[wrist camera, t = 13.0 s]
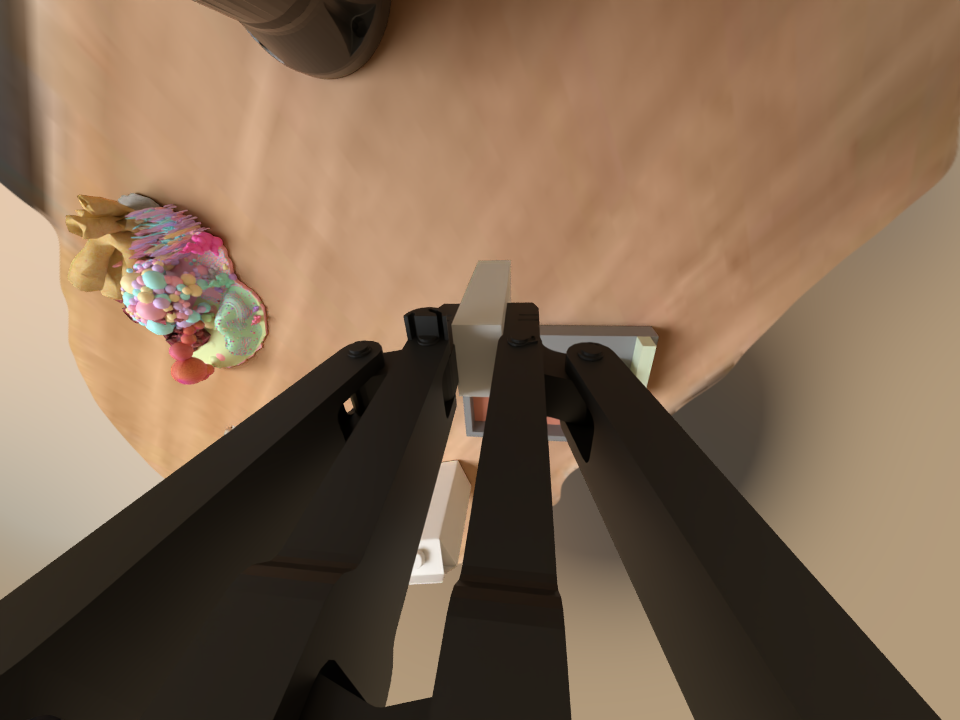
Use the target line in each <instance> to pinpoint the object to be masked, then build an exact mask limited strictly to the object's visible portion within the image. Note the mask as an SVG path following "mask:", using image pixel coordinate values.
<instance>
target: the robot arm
mask: <svg viewBox="0 0 960 720" xmlns="http://www.w3.org/2000/svg"><path fill="white" fill-rule="evenodd" d="M193 1H195V2H197V3H200V4H202V5H204V6H206V7H209V8H211V9H213V10H215V11H218V12H220V13H222V14H224V15H226V16H228V17H231V18H233V19H235V20H238V21H239V22H240V23H241V24H242V25H243V26H244V27H245V28H246V29H247V31H248V32H249V33H250V34H251V36H252V37H253V38H254V39H255V40H256V41H257V42H258V43H259V45H260V46H261V47H262V48H263V49H264V50H265V51H267V52H268V53H269V54H270V55H271V56H272V57H274V58H275V59H276V60H278V61H279V62H281V63H282V64H284V65H286V66H287V67H289V68H291V69H293V70H296V71H298V72H301V73H304V74H306V75H309V76H312V77H316V78H321V79H335V78H340V77H344V76H347V75H349V74H351V73H353V72H355V71H356V70H358V69H359V68H360V67H362V66H363V65H364V64H365V63H366V62H367V61H368V60H369V58H370V57H371V56H372V54H373V53H374V52H375V50H376V48H377V47H378V45H379V43H380V41H381V38H382V36H383V34H384V31H385V28H386V24H387V21H388V16H389V11H390V5H391V0H193ZM404 322H405V327H406V332H407V337H408V341H407V342H406V344H405V346H404V347H403V349H402V350H398V351H392V352H386V353H383V351H382V347H381V345H380V344H379V343H377V342H374V341H361V342H360V341H357V342H355V343H353V344H349V345H347V346H346V347H344V348H342V349H341V350H339V351H338V352H337V353H335V354H334V355H333V356H331V357H330V358H328V359H327V360H326V361H324V362H323V363H322V364H320V365H319V366H318V367H316V368H315V369H314V370H312V371H311V372H309V373H308V374H307V375H305V376H304V377H303V378H301V379H300V380H299V381H297V382H296V383H295V384H293V385H292V386H290V387H289V388H288V389H286V390H285V391H284V392H282V393H281V394H280V395H278V396H277V397H276V398H274V399H273V400H271V401H270V402H269V403H267V404H266V405H265V406H263V407H262V408H261V409H259V410H258V411H256V412H255V413H254V414H252V415H251V416H250V417H248V418H247V419H246V420H244V421H243V422H242V423H240V424H239V425H237V426H236V427H235V428H233V429H232V430H231V431H229V432H228V433H227V434H225V435H224V436H223V437H221V438H220V439H218V440H217V441H216V442H214V443H213V444H212V445H210V446H209V447H208V448H206V449H205V450H204V451H202V452H201V453H199V454H198V455H197V456H195V457H194V458H193V459H191V460H190V461H189V462H187V463H186V464H185V465H183V466H182V467H180V468H179V469H178V470H176V471H175V472H174V473H172V474H171V475H170V476H168V477H167V478H165V479H164V480H163V481H162V482H160V483H159V484H157V485H156V486H155V487H153V488H152V489H151V490H149V491H148V492H146V493H145V494H144V495H142V496H141V497H140V498H138V499H137V500H136V501H134V502H133V503H132V504H130V505H129V506H127V507H126V508H125V509H123V510H122V511H121V512H119V513H118V514H117V515H115V516H114V517H113V518H111V519H110V520H108V521H107V522H106V523H104V524H103V525H102V526H100V527H99V528H98V529H96V530H95V531H94V532H92V533H91V534H90V535H88V536H87V537H85V538H84V539H83V540H81V541H80V542H79V543H77V544H76V545H75V546H73V547H72V548H70V549H69V550H68V551H66V552H65V553H64V554H62V555H61V556H60V557H58V558H57V559H56V560H54V561H53V562H51V563H50V564H49V565H47V566H46V567H45V568H43V569H42V570H41V571H39V572H38V573H36V574H35V575H34V576H32V577H31V578H30V579H28V580H27V581H26V582H25V583H23V584H22V585H20V586H19V587H18V588H16V589H15V590H13V591H12V592H11V593H9V594H8V595H7V596H5V597H4V598H3V599H1V600H0V720H571V708H570V694H569V680H568V666H567V652H566V639H565V626H564V616H563V606H562V600H561V596H560V594H559V591H558V585H557V574H556V558H555V544H554V543H555V542H554V526H553V510H552V493H551V477H550V461H549V445H548V429H547V417H551V418H554V419H558V420H560V426H561V429H562V431H563V433H564V435H565V438H566V440H567V442H568V444H569V446H570V448H571V451H572V453H573V455H574V457H575V459H576V462H577V464H578V466H579V468H580V470H581V472H582V475H583V477H584V479H585V481H586V483H587V486H588V488H589V490H590V492H591V494H592V496H593V499H594V501H595V503H596V505H597V507H598V510H599V512H600V514H601V516H602V518H603V520H604V523H605V525H606V527H607V529H608V531H609V534H610V536H611V538H612V540H613V542H614V545H615V547H616V549H617V551H618V553H619V555H620V558H621V560H622V562H623V564H624V566H625V569H626V571H627V573H628V575H629V577H630V580H631V582H632V584H633V586H634V588H635V590H636V593H637V595H638V597H639V599H640V601H641V603H642V606H643V608H644V610H645V612H646V614H647V617H648V619H649V621H650V623H651V625H652V627H653V630H654V632H655V634H656V636H657V638H658V640H659V643H660V645H661V647H662V649H663V652H664V654H665V656H666V658H667V660H668V663H669V665H670V667H671V669H672V671H673V673H674V675H675V678H676V680H677V682H678V684H679V686H680V689H681V691H682V693H683V695H684V697H685V700H686V702H687V704H688V706H689V708H690V711H691V713H692V715H693V717H694V719H695V720H941V719H940V717H939V716H938V715H937V714H936V713H935V712H934V711H933V710H932V708H931V707H930V706H929V705H928V704H927V703H926V702H925V701H924V700H923V698H922V697H921V696H920V695H919V694H918V693H917V692H916V690H915V689H914V688H913V687H912V686H911V685H910V684H909V683H908V681H907V680H906V679H905V678H904V677H903V676H902V675H901V674H900V672H899V671H898V670H897V669H896V668H895V667H894V666H893V665H892V663H891V662H890V661H889V660H888V659H887V658H886V657H885V656H884V654H883V653H881V651H880V650H879V649H878V648H877V647H876V645H875V644H874V643H873V642H872V641H871V640H870V639H869V638H868V637H867V635H866V634H865V633H864V632H863V631H862V630H861V629H860V627H859V626H858V625H857V624H856V623H855V622H854V621H853V620H852V618H851V617H850V616H849V615H848V614H847V613H846V612H845V611H844V610H843V609H842V607H841V606H840V605H839V604H838V603H837V602H836V601H835V599H834V598H833V597H832V596H831V595H830V594H829V593H828V592H827V591H826V589H825V588H824V587H823V586H822V585H821V584H820V583H819V581H818V580H817V579H816V578H815V577H814V576H813V575H812V574H811V573H810V571H809V570H808V569H807V568H806V567H805V566H804V565H803V563H802V562H801V561H800V560H799V559H798V558H797V557H796V556H795V555H794V553H793V552H792V551H791V550H790V549H789V548H788V547H787V545H786V544H785V543H784V542H783V541H782V540H781V539H780V538H779V537H778V535H777V534H776V533H775V532H774V531H773V530H772V529H771V527H769V525H768V524H767V523H766V522H765V521H764V520H763V518H762V517H761V516H760V515H759V514H758V513H757V512H756V511H755V509H754V508H753V507H752V506H751V505H750V504H749V503H748V502H747V500H746V499H745V498H744V497H743V496H742V495H741V494H740V493H739V492H738V490H737V489H736V488H735V487H734V486H733V485H732V484H731V483H730V481H729V480H728V479H727V478H726V477H725V476H724V475H723V473H722V472H721V471H720V470H719V469H718V468H717V467H716V466H715V465H714V463H713V462H712V461H711V460H710V459H709V458H708V457H707V455H706V454H705V453H704V452H703V451H702V450H701V449H700V448H699V447H698V445H697V444H696V443H695V442H694V441H693V440H692V439H691V438H690V437H689V435H688V434H687V433H686V432H685V431H684V430H683V429H682V427H681V426H680V425H679V424H678V423H677V422H676V421H675V420H674V418H673V417H672V416H671V415H670V414H669V413H668V412H667V411H666V409H665V408H664V407H663V406H662V405H661V404H660V403H659V402H658V400H657V399H656V398H655V397H654V396H653V395H652V394H651V393H650V391H649V390H648V389H647V388H646V387H645V386H644V385H643V384H642V382H641V381H640V380H639V379H638V378H637V377H636V376H635V375H634V373H633V372H632V371H631V370H630V369H629V368H628V367H627V366H626V364H625V363H624V362H623V361H622V360H621V359H620V358H619V357H618V355H617V354H616V353H615V352H614V351H613V350H611V349H610V348H609V347H607V346H604V345H602V344H599V343H594V342H581V343H577V344H574V345H572V346H570V347H569V348H568V350H567V351H566V353H561V352H557V351H553V350H551V349H549V348H547V347H545V346H544V345H543V344H542V340H541V338H540V326H539V309H538V307H537V306H536V305H535V304H534V303H511V260H491V261H478V263H477V265H476V268H475V270H474V272H473V275H472V277H471V279H470V282H469V284H468V287H467V289H466V291H465V294H464V296H463V298H462V301H461V303H460V304H443V305H442V306H440V307H439V308H433V307H426V308H419V309H415V310H412V311H410V312H408V313H406V314H405V315H404ZM457 386H458V389H459V396H470V397H489V401H488V408H487V414H486V420H485V427H484V433H483V439H482V446H481V452H480V458H479V464H478V471H477V477H476V483H475V490H474V496H473V502H472V509H471V515H470V521H469V527H468V534H467V540H466V546H465V553H464V559H463V565H462V570H461V575H460V578H459V580H458V582H457V583H456V584H455V585H454V588H453V591H452V594H451V597H450V602H449V607H448V611H447V616H446V622H445V628H444V633H443V639H442V645H441V651H440V656H439V662H438V668H437V673H436V679H435V685H434V690H433V696H432V697H430V698H425V699H421V700H416V701H411V702H406V703H402V704H397V705H392V706H387V707H385V705H386V701H387V697H388V692H389V688H390V682H391V676H392V668H393V646H394V639H395V634H396V629H397V626H398V622H399V618H400V615H401V611H402V607H403V603H404V600H405V596H406V592H407V589H408V585H409V581H410V577H411V574H412V570H413V566H414V563H415V559H416V555H417V551H418V548H419V544H420V540H421V537H422V533H423V529H424V525H425V522H426V518H427V514H428V510H429V507H430V503H431V499H432V496H433V492H434V488H435V484H436V481H437V477H438V473H439V469H440V466H441V462H442V458H443V455H444V451H445V447H446V443H447V440H448V436H449V432H450V428H451V425H452V421H453V417H454V414H455V410H456V406H457V403H456V389H457ZM349 398H351V401H352V404H353V407H354V408H353V409H352V410H351V411H349V412H346V410H345V407H344V405H343V403H344V402H345V401H347V400H348V399H349Z"/></svg>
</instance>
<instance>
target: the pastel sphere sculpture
mask: <svg viewBox="0 0 960 720" xmlns="http://www.w3.org/2000/svg"><path fill="white" fill-rule="evenodd" d="M77 197H78V199H79V201H80V203H81V205H82V207H83V208H84V210H75V211H76V212H77V213H78V215H79V216H75V215H66V225H67V228H68V230H69V232H71V233H74V234H76V235H79V236H81V237H82V239H88V241H87V242H86V245H85V247H84V248H83V249H82V250H81V251H80V252H79V253H78V254H77V255H76V257H75V258H74V260H73V261H72V263H71V266H70V270H69V273H68V280H69V281H70V282H71V283H72V285H73V286H75V287H76V288H78V289H79V290H81V291H86V292H90V291H98V290H100V291H101V293H102V295H103V296H106V297H108V298H111V299H114V300H116V301H118V302H120V303H122V302H123V303H124V304H125V307H126V308H122V309H123V312H124V313H125V314H126V315H127V316H128V317H129V318H130V319H131V320H132V321H134V322H135V323H139V324H141V325H143V326H146V328H147V329H148V330H150V331H152V332H153V333H155V334H158V335H163V336H164V337H165V338H166V341H167V342H168V343H169V344H170V345H171V347H170V349H169V354H170V355H171V357H172V358H173V359H176V362H175V363H174V364H173V365H172V367H171V375H172V377H173V378H174V379H175V380H176V381H178V382H179V383H182V384H195V383H198V382H200V381H203V380H206V379H207V378H208V377H209V375H211V374H213V372H214V367H217V368H223V367H227V368H231V367H232V366H235V365H240V364H242V363H243V362H245V361H246V360H247V358H250V357H252V356H254V355H255V352H256V351H257V350H259V349H260V348H262V347H263V343H262V342H263V340H264V339H265V336H266V335H267V334H268V332H267V321H266V312H265V306H264V305H263V304H262V302H261V299H260V298H259V297H258V296H257V294H256V293H255V292H254V291H253V290H252V289H250V288H248V287H247V286H246V285H245V284H244V283H242V282H240V281H239V280H238V279H237V276H236V275H235V274H234V270H233V264H232V261H231V259H230V258H229V257H228V253H227V249H226V248H225V247H224V246H223V241H222V239H221V238H219V237H215V236H213V235H211V234H210V233H207V232H205V231H204V230H207V229H210V228H205V227H202V228H201V226H199V224H201V222H196V223H195V221H194V220H192V219H196V218H197V217H192V215H187V216H186V215H183V213H184V212H185V211H188V210H183V211H179V212H174V211H173V210H174V209H171V208H176V207H177V206H173V205H174V204H168V205H165V206H163V207H168V206H170V207H168V208H163V207H160V206H159V205H158V204H157V203H155V202H154V201H153V200H152V199H150V198H147V197H144V196H140V195H137V194H134V193H131V194H130V195H129V196H125V195H122V196H121V198H119V199H118V202H117V201H114V200H109V199H106V198H102V197H93V196H86V195H78V196H77ZM172 206H173V207H172ZM189 217H192V218H189ZM186 218H189V219H186Z"/></svg>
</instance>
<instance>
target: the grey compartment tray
mask: <svg viewBox="0 0 960 720" xmlns="http://www.w3.org/2000/svg"><path fill="white" fill-rule="evenodd" d="M539 326H540V338H541V340H542V344H543V345H544V346H545V347H547V348H549V349H551V350H553V351H557V352H561V353H566V351H567V350H568V348H569V347H570V346H572V345H574V344H577V343H581V342H594V343H599V344H602V345H604V346H607V347H609V348H610V349H611V350H613V351H614V352H615V353H616V354H617V355H618V357H619V358H621V360H622V361H623V362H624V363H625V364H626V366H627V367H628V368H629V369H630V370H631V371H632V372H633V373H634V375H635V376H636V377H637V378H638V379H639V380H640V381H641V382H642V384H643V385H644V386H645V387H647V383H648V379H649V375H650V371H651V367H652V363H653V358H654V354H655V350H656V346H657V342H658V338H659V336H658V335H657V334H656V332H655V331H654V329H653V328H652V326H566V325H539ZM488 401H489V397H470V396H463V403H464V414H465V424H466V435H467V436H473V437H483V433H484V427H485V420H486V414H487V408H488ZM547 429H548V441H566V442H567V440H566V438H565V435H564V433H563V431H562V429H561V426H560V420H558V419H554V418H551V417H547Z"/></svg>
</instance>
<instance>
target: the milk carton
mask: <svg viewBox="0 0 960 720" xmlns="http://www.w3.org/2000/svg"><path fill="white" fill-rule="evenodd" d="M470 492H471V484H470V482H469V480H468V479H467V477H466V475H465V473H464V471H463V469H462V467H461V465H460V463H459V461H458V460H455V461H448V462H442V463H441V466H440V469H439V473H438V477H437V481H436V484H435V488H434V492H433V496H432V499H431V503H430V507H429V510H428V514H427V518H426V522H425V525H424V529H423V533H422V537H421V540H420V544H419V548H418V551H417V555H416V559H415V563H414V566H413V570H412V574H411V577H410V581H409V584H428V583H443V578H444V574H446V573H447V572H449V571H451V570H452V569H454V568H455V567H457V564H458V558H459V553H460V547H461V542H462V536H463V531H464V525H465V520H466V514H467V509H468V503H469V497H470Z"/></svg>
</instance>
